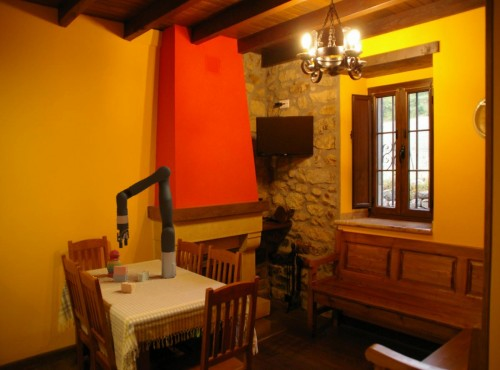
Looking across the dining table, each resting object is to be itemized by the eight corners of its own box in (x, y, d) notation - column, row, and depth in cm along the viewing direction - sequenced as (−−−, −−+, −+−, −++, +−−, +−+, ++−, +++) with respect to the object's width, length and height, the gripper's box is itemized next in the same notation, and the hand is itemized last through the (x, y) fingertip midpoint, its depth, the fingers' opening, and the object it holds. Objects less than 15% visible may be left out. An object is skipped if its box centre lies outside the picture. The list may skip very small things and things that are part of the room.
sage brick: (144, 278, 270) (143, 271, 270) (148, 278, 269) (148, 271, 269) (137, 281, 262) (137, 274, 262) (142, 282, 262) (142, 274, 261)
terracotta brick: (127, 273, 264) (127, 265, 264) (125, 274, 261) (125, 267, 261) (116, 273, 265) (115, 265, 265) (113, 274, 261) (113, 266, 261)
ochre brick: (135, 291, 241) (135, 283, 241) (131, 293, 238) (131, 284, 237) (125, 290, 244) (125, 281, 244) (121, 291, 241) (121, 283, 241)
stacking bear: (119, 277, 272) (118, 251, 272) (104, 277, 273) (104, 251, 272) (124, 273, 283) (124, 248, 283) (110, 273, 284) (109, 248, 283)
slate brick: (127, 280, 265) (127, 273, 264) (125, 282, 261) (125, 274, 261) (115, 280, 265) (115, 273, 265) (113, 282, 262) (113, 274, 262)
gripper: (123, 223, 257) (124, 248, 258) (132, 220, 271) (133, 244, 272) (112, 223, 258) (113, 249, 258) (121, 221, 272) (122, 244, 272)
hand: (123, 246), depth 265 cm, fingers open, 8 cm apart
